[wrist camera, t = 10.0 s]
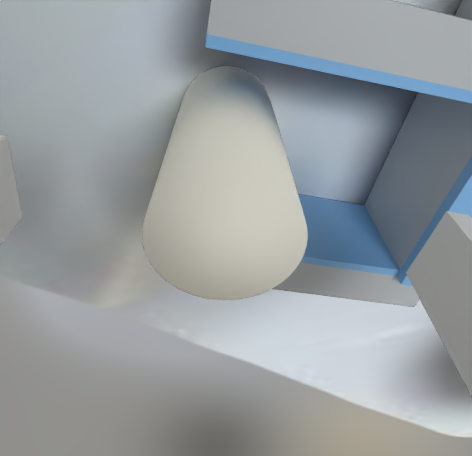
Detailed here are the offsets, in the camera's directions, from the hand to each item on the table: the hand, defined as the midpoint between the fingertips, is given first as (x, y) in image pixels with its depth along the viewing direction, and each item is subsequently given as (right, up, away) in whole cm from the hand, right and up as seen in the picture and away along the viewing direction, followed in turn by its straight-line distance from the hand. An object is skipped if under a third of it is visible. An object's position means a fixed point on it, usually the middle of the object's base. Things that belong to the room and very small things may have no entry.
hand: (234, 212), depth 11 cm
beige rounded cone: (0, +6, +8) cm, 10 cm away
